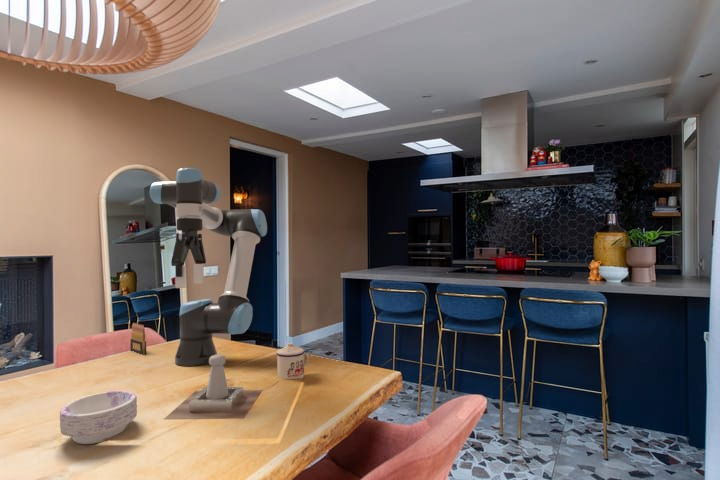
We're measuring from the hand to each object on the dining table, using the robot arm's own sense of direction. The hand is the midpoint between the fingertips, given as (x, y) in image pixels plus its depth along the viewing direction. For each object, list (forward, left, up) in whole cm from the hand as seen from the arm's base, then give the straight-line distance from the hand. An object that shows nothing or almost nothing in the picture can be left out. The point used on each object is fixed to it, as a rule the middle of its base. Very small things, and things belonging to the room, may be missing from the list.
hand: (189, 285), depth 128 cm
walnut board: (+16, +14, -32) cm, 38 cm away
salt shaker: (+16, +14, -31) cm, 38 cm away
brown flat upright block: (-44, -40, -32) cm, 68 cm away
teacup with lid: (-9, +31, -32) cm, 45 cm away
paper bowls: (+32, -8, -32) cm, 46 cm away
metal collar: (+16, +14, -31) cm, 37 cm away
